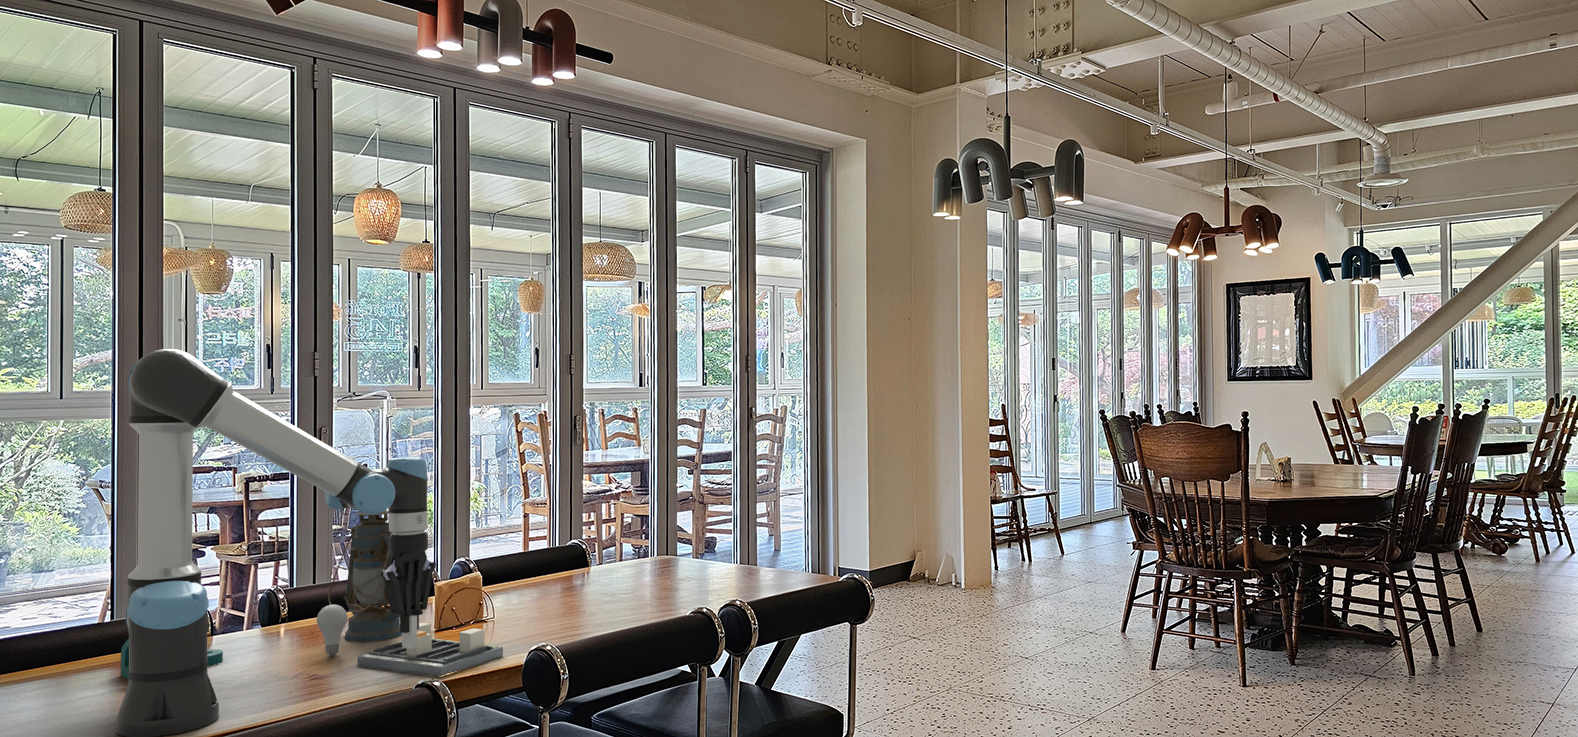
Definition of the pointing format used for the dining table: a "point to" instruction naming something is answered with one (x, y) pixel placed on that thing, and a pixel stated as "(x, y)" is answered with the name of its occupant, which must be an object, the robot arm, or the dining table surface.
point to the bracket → (212, 658)
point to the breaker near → (471, 639)
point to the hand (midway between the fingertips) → (409, 647)
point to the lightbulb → (332, 626)
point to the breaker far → (425, 627)
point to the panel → (429, 658)
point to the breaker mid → (421, 644)
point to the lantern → (369, 582)
